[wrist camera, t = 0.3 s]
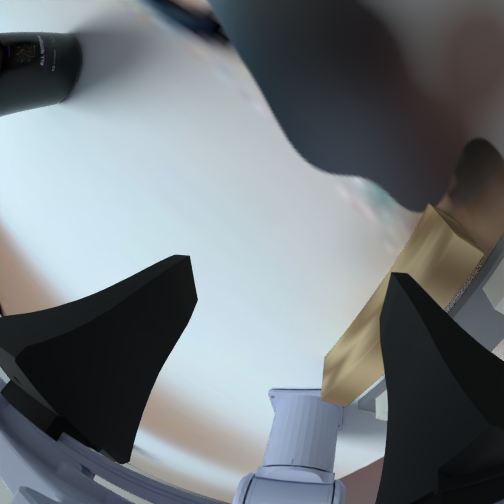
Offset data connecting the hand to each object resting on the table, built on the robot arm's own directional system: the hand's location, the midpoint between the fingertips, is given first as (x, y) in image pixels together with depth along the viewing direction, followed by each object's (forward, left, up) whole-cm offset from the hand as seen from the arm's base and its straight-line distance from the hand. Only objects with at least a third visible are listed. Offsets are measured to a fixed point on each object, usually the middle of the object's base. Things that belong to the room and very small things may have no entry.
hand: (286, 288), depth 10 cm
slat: (-8, -5, -10) cm, 14 cm away
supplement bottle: (+16, +17, -10) cm, 26 cm away
